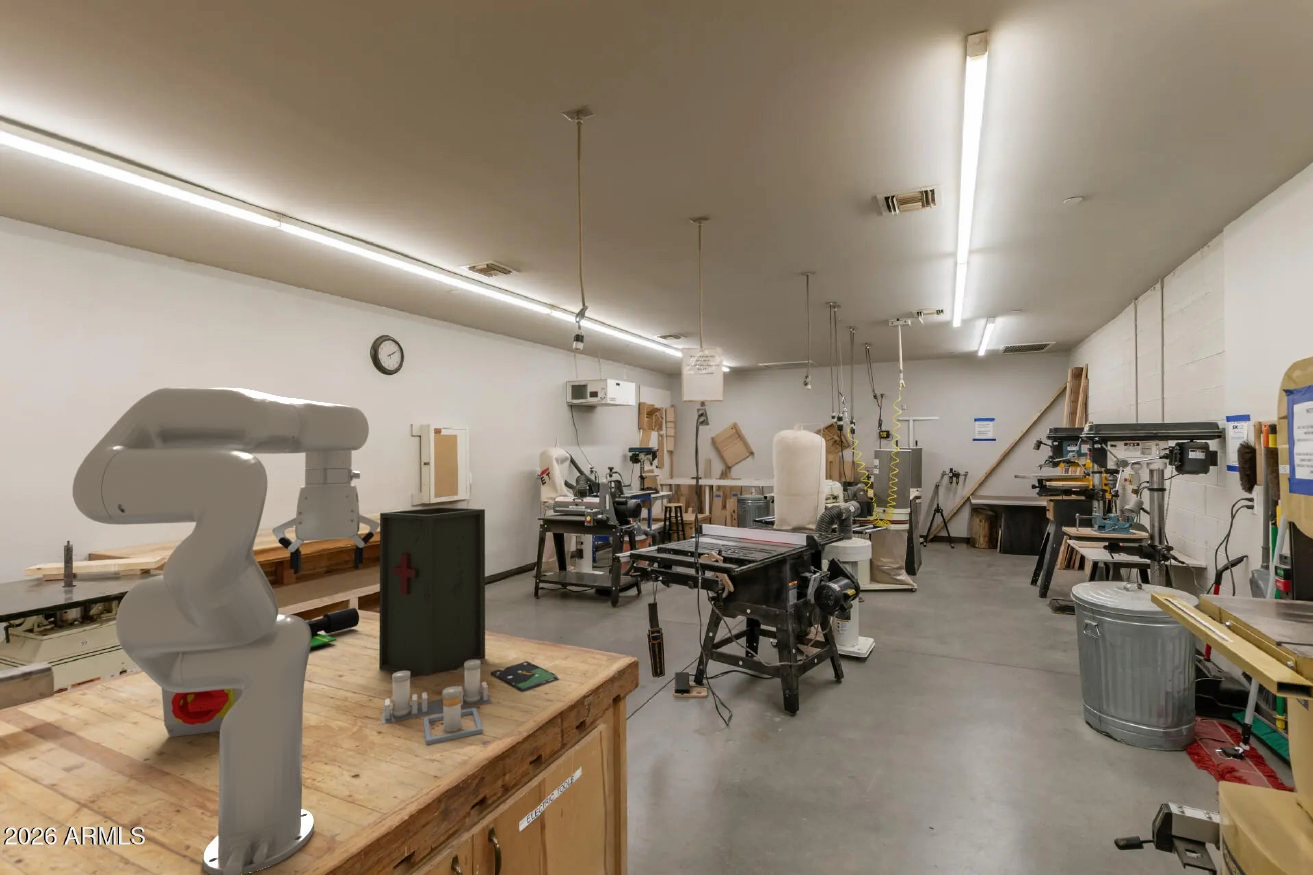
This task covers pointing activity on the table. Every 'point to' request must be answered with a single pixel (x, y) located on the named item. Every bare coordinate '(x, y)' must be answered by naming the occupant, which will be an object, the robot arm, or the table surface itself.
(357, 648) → the table surface
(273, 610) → the robot arm
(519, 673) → the disk drive
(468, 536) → the first aid box
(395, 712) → the domed white capsule
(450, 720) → the cylinder
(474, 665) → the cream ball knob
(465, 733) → the tray
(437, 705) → the fuse holder
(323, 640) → the electronic board model
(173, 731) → the electrical switch box
